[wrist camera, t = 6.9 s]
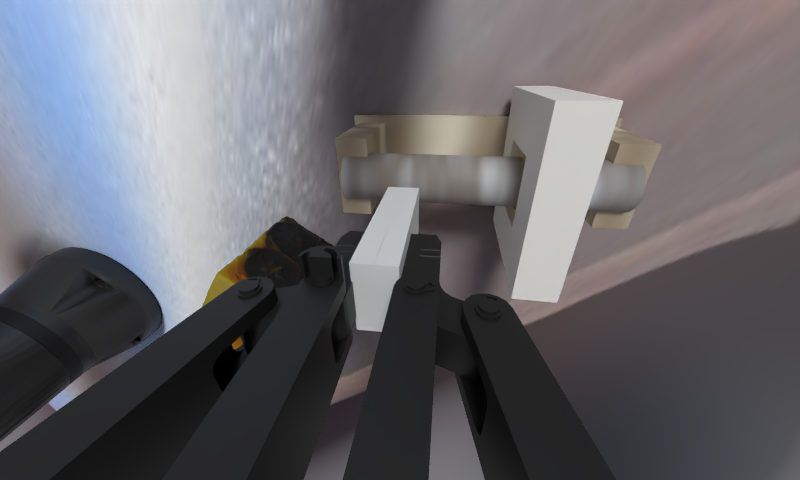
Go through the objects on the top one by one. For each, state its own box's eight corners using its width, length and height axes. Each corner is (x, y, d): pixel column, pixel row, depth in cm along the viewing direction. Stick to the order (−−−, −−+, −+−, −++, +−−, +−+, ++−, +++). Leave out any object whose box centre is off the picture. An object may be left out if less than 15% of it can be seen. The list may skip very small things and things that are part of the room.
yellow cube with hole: (370, 268, 31) (337, 344, 23) (325, 318, 36) (285, 396, 28) (285, 210, 29) (216, 269, 21) (251, 272, 34) (183, 339, 26)
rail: (362, 186, 27) (331, 226, 20) (356, 114, 24) (317, 133, 17) (592, 197, 24) (643, 247, 17) (618, 116, 21) (692, 140, 14)
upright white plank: (492, 219, 25) (511, 298, 17) (514, 86, 20) (555, 100, 12) (522, 221, 25) (557, 302, 16) (551, 85, 20) (623, 100, 11)
